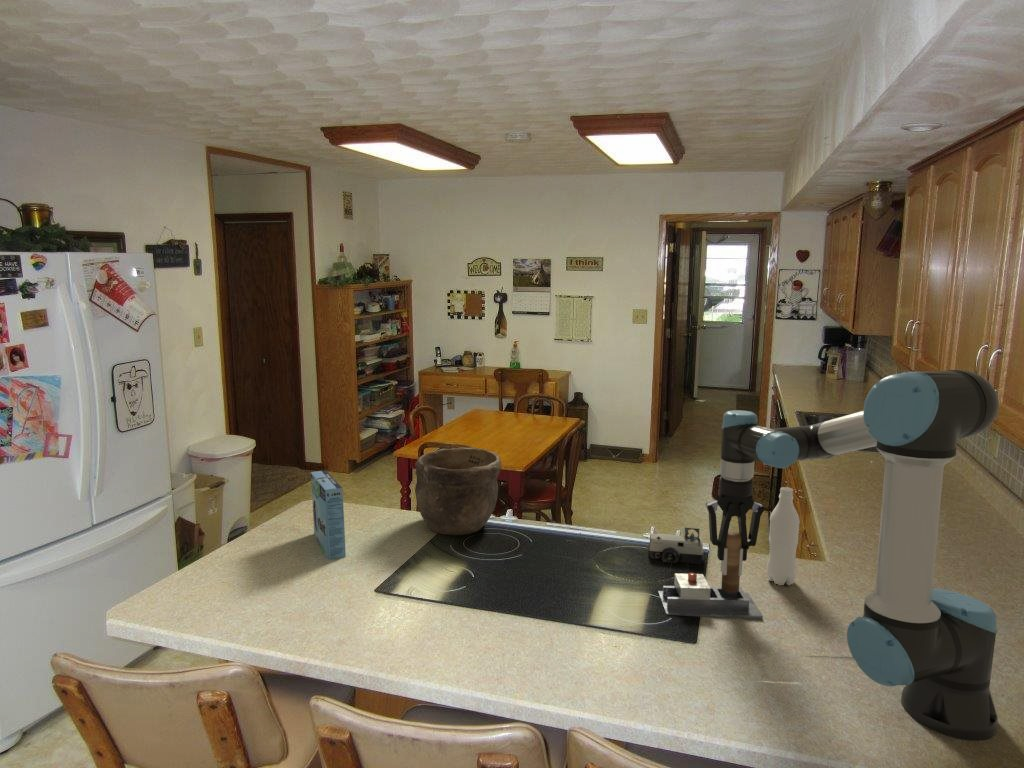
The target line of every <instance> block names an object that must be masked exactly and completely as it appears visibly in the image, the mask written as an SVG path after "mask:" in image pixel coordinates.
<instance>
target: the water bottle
mask: <svg viewBox="0 0 1024 768" xmlns="http://www.w3.org/2000/svg"><path fill="white" fill-rule="evenodd" d="M779 492H780V493H779V495H778V498H779V500H778V502H777V504H776V506H775V507H774V509H773V510H772V511H771V513H770V516H769V536H768V544H769V556H768V560H767V564H766V575H767V579H768V580H770V581H774V585H776V584H778V585H777V586H779V585H783V586H784V585H787V584H788V585H787V586H791V584H792V585H793V583H794V582H795V580H796V578H797V563H796V561H797V560H796V554H797V548H798V544H799V533H800V532H799V531H800V530H799V529H800V524H801V523H800V521H801V520H800V516H799V514H798V512H797V509H796V507H795V505H794V502H793V500H794V489H793V488H792V487H786V486H781V487H780V489H779ZM770 581H769V582H770Z"/></svg>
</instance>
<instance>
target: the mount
mask: <svg viewBox="0 0 1024 768" xmlns="http://www.w3.org/2000/svg"><path fill="white" fill-rule="evenodd" d="M721 587H722V586H710V588H711V590H710V600H697V599H680V597H679V594H678V592H677V590H676V587H675V585H663V586H662V590H658V594H659V597H660V601H661V603H662V606H663V609H664V611H665V612H664V613H665V614H666V615H667V616H682V617H683V616H684V617H685V616H686V617H701V618H703V617H704V618H720V619H721V618H722V619H741V620H757V621H759V620H760V621H762V620H764V618H763V617H764V615H763V614H762V612H761V611H760V609H759V608H758V607H757V605H756V603H755V601H754V600H753V598H752V596H750V594H749V592H745V591H744V590H743V589H742V587H740V586H739V592H738V593H726V592H724V591H723V590H722V589H721Z"/></svg>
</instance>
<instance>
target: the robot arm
mask: <svg viewBox="0 0 1024 768" xmlns="http://www.w3.org/2000/svg"><path fill="white" fill-rule="evenodd" d="M999 409H1000V399H999V396H998V393H997V391H996V389H995V387H994V386H993V385H992V383H991V382H990V381H989V380H987V379H986V378H985V377H984V376H982V375H980V374H978V373H976V372H972V371H969V370H964V369H947V370H929V371H927V370H926V371H925V370H924V371H909V370H908V371H906V372H905V371H904V372H901V373H895V374H891V375H887V376H885V377H883V378H881V379H880V380H879V381H878V382H877V383H875V384H874V385H873V386H872V387H871V389H870V390H869V391H868V394H867V396H866V398H865V400H864V405H863V410H860V411H858V412H854V413H851V414H847V415H843V416H840V417H835V418H832V419H829V420H826V421H822V422H818V423H814V424H809V425H803V426H802V425H801V426H790V427H789V426H788V427H776V428H769V427H765V426H761V425H759V424H758V423H759V422H758V415H757V414H756V413H755V412H753V411H749V410H743V409H742V410H741V409H740V410H739V409H738V410H736V409H735V410H728V411H725V412H724V413H723V418H722V425H721V444H720V446H721V447H720V465H719V467H720V468H719V474H720V477H719V479H718V480H719V483H718V495H717V497H716V499H715V500H714V501H712V502H708V501H707V502H706V503H705V508H706V509H707V512H708V525H709V526H708V527H709V540H710V543H711V544H712V545H713V546H716V547H717V552H716V553H717V556H716V557H717V559H718V561H720V572H721V574H722V573H723V575H727V550H728V549H727V548H725V544H726V540H727V535H728V531H730V530H729V529H730V523H731V522H732V519H733V518H732V517H737V523H738V525H737V526H738V532H740V534H741V535H742V544H741V549H740V561H739V575H740V576H742V575H743V574H742V573H743V561H744V562H746V561H747V558H748V550H749V549H750V547H755V546H757V540H758V535H759V528H760V521H761V518H762V517H761V516H762V515H763V513H764V511H765V508H766V507H764V506H763V505H762V503H760V502H755V500H754V498H753V491H754V480H753V478H754V477H755V476H754V475H755V461H758V462H759V463H762V464H764V465H765V466H769V467H772V468H777V469H786V468H789V467H790V466H791V465H792V464H794V463H796V462H799V461H808V460H818V459H822V460H823V459H830V458H835V457H837V456H839V455H840V454H841V455H842V454H845V453H850V452H855V451H860V450H864V449H871V448H874V447H875V448H876V450H877V451H878V452H879V453H880V454H881V455H882V457H883V458H884V461H885V462H884V473H883V486H882V498H881V499H882V500H881V501H882V502H881V511H880V524H879V536H878V551H877V560H876V561H877V563H876V575H875V587H874V590H873V591H870V592H869V593H867V594H866V596H865V597H864V604H863V615H862V616H858V617H856V618H855V619H854V620H852V621H851V622H850V623H849V625H848V627H847V630H846V639H847V640H846V641H847V646H848V649H849V652H850V654H851V656H852V658H853V659H854V661H855V663H856V665H857V666H858V668H859V669H860V671H862V673H864V675H866V677H868V678H869V679H870V680H872V681H873V682H874V683H876V684H879V685H881V686H884V687H897V686H904V687H903V689H902V691H901V697H900V701H901V705H902V707H903V709H904V710H905V712H906V714H908V715H909V716H910V717H911V718H912V719H914V720H915V721H916V722H918V723H919V724H920V725H922V726H923V727H926V728H928V729H930V730H932V731H934V732H935V733H938V734H941V735H943V736H947V737H949V738H950V737H951V738H954V739H958V740H962V741H971V742H972V741H974V742H978V741H979V742H980V741H987V740H989V739H992V738H993V737H995V735H996V734H997V731H998V724H999V722H998V721H999V720H998V715H997V710H996V707H995V704H994V700H993V695H992V693H991V687H990V686H991V677H992V668H993V662H994V661H993V660H994V653H995V643H996V637H997V633H998V629H997V614H996V612H995V611H994V609H993V608H992V607H991V606H990V605H988V604H986V603H985V602H982V601H981V600H979V599H977V598H974V597H972V596H970V595H966V594H963V593H960V592H956V591H952V590H947V589H940V588H934V580H935V579H934V578H935V570H936V569H935V568H936V567H935V565H936V557H937V556H936V555H937V546H938V535H939V524H940V514H941V513H940V512H941V504H942V502H941V500H942V491H943V481H944V480H943V479H944V469H945V466H946V464H948V463H949V462H951V461H953V460H954V459H956V456H957V447H958V439H962V438H969V437H973V436H976V435H978V434H980V433H983V432H984V431H986V430H987V429H988V428H989V427H990V426H992V424H993V423H994V422H995V420H996V418H997V416H998V413H999ZM718 506H719V508H720V509H721V511H722V514H721V517H722V519H721V522H720V523H721V524H720V526H719V532H718V530H717V529H718V527H717V525H718V524H717V513H716V512H717V511H718ZM751 509H752V514H751V520H750V524H749V531H748V530H747V529H748V528H747V514H748V512H749V511H750V510H751Z"/></svg>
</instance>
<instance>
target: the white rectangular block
mask: <svg viewBox="0 0 1024 768" xmlns="http://www.w3.org/2000/svg"><path fill="white" fill-rule="evenodd" d="M706 579H707V578H706V577H705V576H704V574H703V573H694V572H688V573H674V582H673V583H674V584H673V586H675V587H676V590H677V592H678V594H679V597H680V599H697V600H710V590H711V588H710V587H711V586H710V584H709V583H708V581H707V580H706Z"/></svg>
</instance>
